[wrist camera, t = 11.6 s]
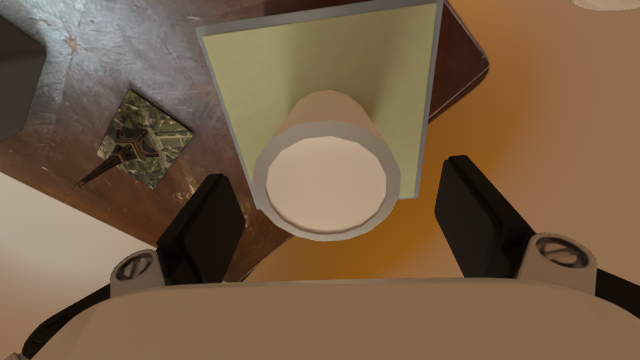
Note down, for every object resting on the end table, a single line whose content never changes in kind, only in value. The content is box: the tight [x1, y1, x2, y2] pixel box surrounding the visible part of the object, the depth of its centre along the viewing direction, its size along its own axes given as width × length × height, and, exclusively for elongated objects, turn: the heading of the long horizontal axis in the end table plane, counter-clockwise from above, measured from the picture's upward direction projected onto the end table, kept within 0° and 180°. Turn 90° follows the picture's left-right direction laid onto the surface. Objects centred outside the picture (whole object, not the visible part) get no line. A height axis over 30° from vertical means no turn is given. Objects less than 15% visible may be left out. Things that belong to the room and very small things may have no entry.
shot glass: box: [252, 90, 401, 241], centre depth 14 cm, size 7×7×7 cm
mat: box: [202, 3, 437, 198], centre depth 17 cm, size 13×13×1 cm
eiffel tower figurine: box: [67, 89, 195, 193], centre depth 34 cm, size 15×10×13 cm
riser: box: [195, 0, 444, 209], centre depth 25 cm, size 14×14×18 cm
